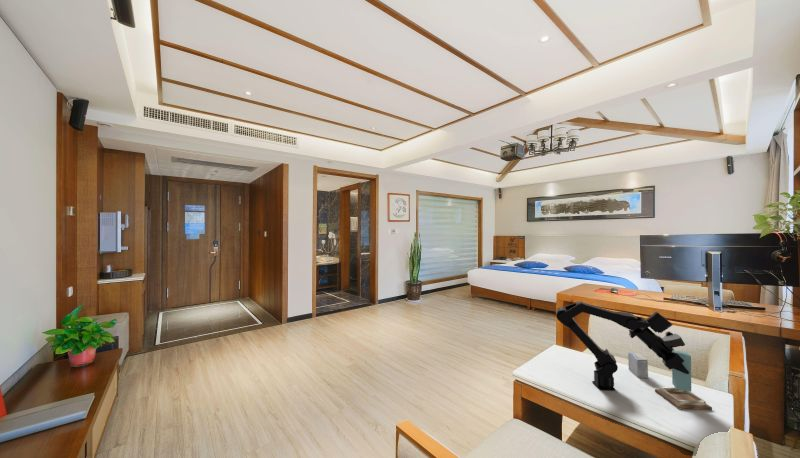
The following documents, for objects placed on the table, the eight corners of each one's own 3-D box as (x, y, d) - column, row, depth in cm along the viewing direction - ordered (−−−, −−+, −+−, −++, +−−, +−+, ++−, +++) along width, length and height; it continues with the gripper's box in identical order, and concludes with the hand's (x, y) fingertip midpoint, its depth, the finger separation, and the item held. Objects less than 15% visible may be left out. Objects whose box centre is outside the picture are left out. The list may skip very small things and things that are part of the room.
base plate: (677, 408, 115) (677, 402, 115) (654, 391, 127) (654, 385, 127) (712, 409, 114) (711, 403, 114) (685, 392, 126) (685, 386, 126)
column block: (691, 391, 117) (691, 356, 117) (676, 389, 119) (675, 354, 119) (686, 385, 121) (686, 351, 121) (672, 383, 123) (671, 350, 123)
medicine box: (648, 378, 137) (648, 360, 137) (637, 377, 138) (637, 359, 138) (638, 370, 145) (638, 352, 145) (628, 369, 146) (627, 352, 146)
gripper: (676, 335, 113) (716, 370, 108) (660, 320, 130) (694, 350, 125) (650, 352, 117) (688, 386, 112) (638, 336, 133) (670, 365, 129)
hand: (685, 370), depth 119 cm, fingers closed on column block, 4 cm apart
